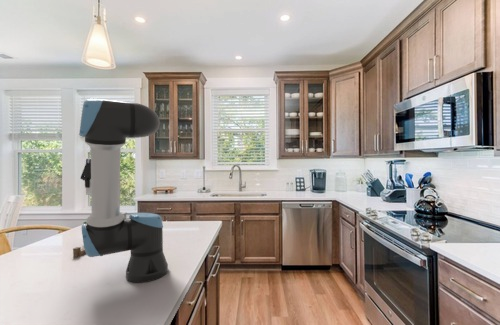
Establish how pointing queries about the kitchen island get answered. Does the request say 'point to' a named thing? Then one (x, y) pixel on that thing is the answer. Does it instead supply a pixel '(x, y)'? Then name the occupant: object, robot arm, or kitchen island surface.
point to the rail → (78, 252)
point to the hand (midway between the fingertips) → (100, 192)
